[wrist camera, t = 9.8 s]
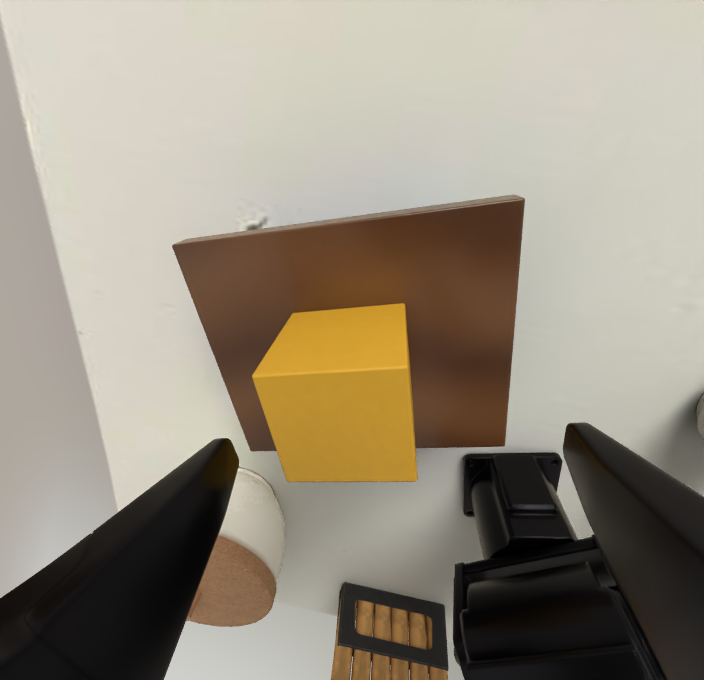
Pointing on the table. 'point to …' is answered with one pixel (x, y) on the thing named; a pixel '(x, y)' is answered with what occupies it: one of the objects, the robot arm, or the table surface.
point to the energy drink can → (700, 416)
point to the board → (375, 304)
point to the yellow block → (341, 396)
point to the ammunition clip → (388, 637)
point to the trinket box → (243, 558)
